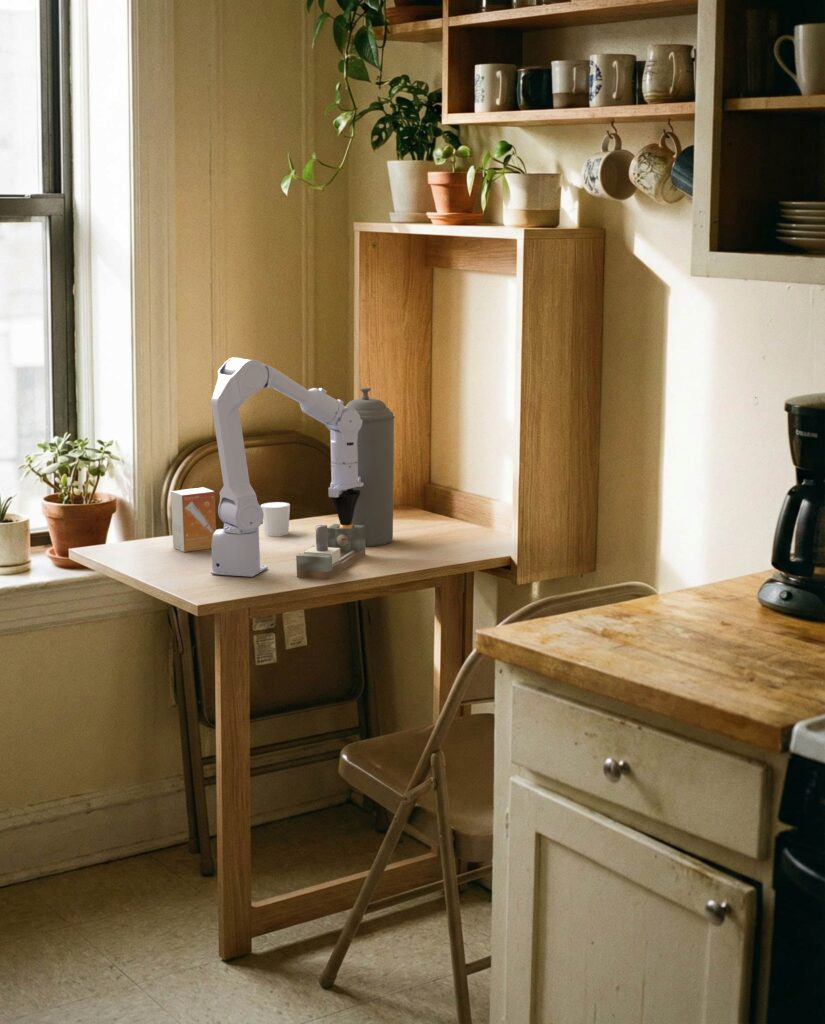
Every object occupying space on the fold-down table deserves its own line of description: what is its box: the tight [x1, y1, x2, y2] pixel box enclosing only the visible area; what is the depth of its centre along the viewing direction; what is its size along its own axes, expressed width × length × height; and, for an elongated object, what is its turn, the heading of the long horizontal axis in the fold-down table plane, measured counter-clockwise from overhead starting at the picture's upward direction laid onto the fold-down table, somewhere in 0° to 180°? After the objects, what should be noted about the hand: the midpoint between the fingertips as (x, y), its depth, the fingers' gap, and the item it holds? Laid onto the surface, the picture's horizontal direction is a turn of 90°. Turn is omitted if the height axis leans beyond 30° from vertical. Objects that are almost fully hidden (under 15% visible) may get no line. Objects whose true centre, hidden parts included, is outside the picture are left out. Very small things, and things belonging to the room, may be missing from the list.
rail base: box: [295, 523, 367, 580], centre depth 285 cm, size 7×22×6 cm, turn 162°
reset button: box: [339, 523, 353, 529], centre depth 293 cm, size 3×3×3 cm
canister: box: [345, 387, 395, 547], centre depth 303 cm, size 13×13×35 cm
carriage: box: [303, 524, 340, 564], centre depth 279 cm, size 6×5×7 cm
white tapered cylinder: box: [260, 501, 291, 537], centre depth 316 cm, size 7×7×7 cm
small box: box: [170, 486, 217, 553], centre depth 302 cm, size 8×6×13 cm
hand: (345, 524), depth 292 cm, fingers closed
